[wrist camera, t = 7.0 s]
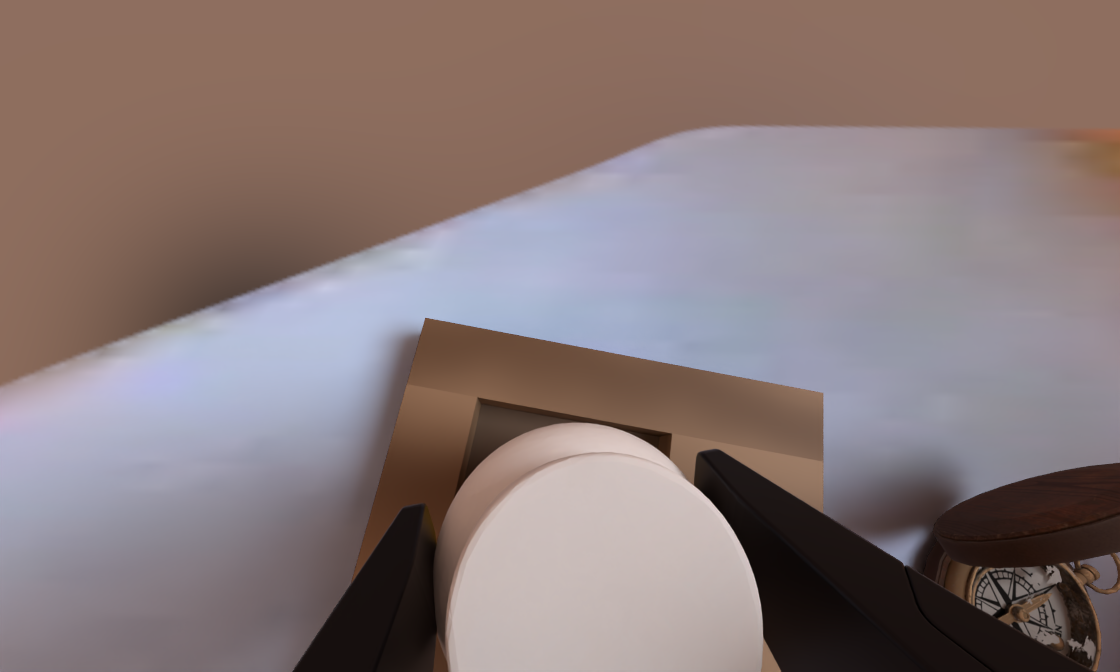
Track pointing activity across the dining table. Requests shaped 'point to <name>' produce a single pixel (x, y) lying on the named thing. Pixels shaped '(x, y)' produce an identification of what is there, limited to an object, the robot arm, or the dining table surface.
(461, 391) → the socket board
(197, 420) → the dining table surface
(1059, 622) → the compass
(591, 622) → the supplement bottle
